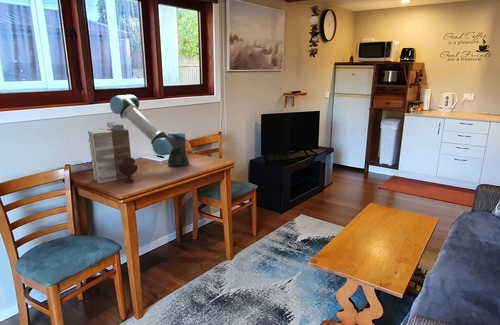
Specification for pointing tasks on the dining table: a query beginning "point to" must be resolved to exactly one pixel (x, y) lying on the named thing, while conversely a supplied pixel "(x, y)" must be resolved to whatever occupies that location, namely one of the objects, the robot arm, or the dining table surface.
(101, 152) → the wooden block tower
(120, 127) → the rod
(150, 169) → the dining table surface
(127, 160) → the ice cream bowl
